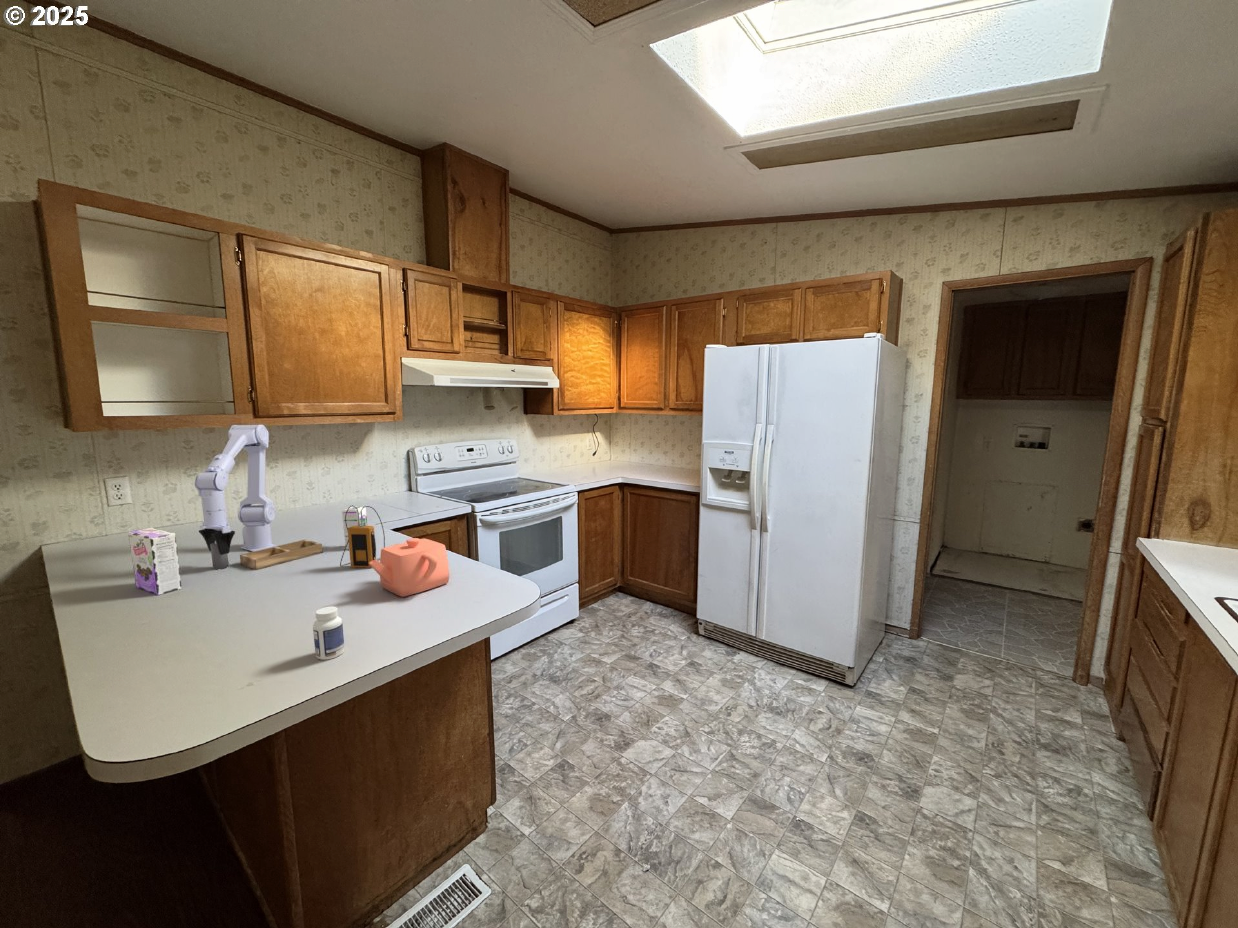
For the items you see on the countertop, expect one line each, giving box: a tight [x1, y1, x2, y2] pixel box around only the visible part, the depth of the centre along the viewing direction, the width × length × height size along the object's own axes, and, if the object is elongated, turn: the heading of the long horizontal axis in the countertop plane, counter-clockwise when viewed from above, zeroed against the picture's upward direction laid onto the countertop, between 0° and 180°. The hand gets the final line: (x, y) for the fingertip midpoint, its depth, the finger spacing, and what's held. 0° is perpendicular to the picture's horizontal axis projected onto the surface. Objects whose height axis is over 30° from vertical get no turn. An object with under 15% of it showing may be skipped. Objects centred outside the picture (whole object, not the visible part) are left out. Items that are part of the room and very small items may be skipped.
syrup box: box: [341, 505, 368, 551], centre depth 183 cm, size 6×6×14 cm
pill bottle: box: [312, 606, 345, 661], centre depth 108 cm, size 5×5×10 cm
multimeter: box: [339, 505, 386, 569], centre depth 166 cm, size 15×10×20 cm
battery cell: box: [210, 541, 230, 571], centre depth 163 cm, size 4×4×9 cm
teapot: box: [369, 537, 450, 598], centre depth 144 cm, size 20×22×14 cm
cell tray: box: [239, 539, 323, 570], centre depth 172 cm, size 11×20×3 cm, turn 148°
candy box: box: [127, 527, 183, 596], centre depth 146 cm, size 14×6×16 cm, turn 62°
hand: (219, 552), depth 163 cm, fingers open, 7 cm apart
